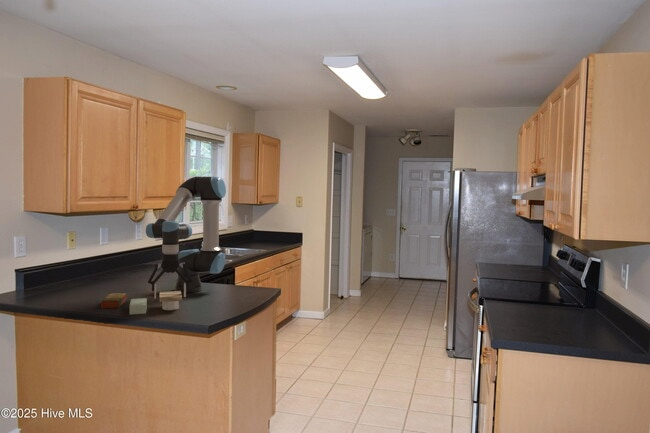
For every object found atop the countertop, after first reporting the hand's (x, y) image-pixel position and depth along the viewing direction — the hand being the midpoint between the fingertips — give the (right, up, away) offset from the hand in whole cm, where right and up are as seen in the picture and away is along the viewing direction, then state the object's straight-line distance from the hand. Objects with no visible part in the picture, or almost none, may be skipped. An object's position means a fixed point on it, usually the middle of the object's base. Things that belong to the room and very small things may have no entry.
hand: (170, 297), depth 238 cm
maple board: (0, 0, 0) cm, 1 cm away
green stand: (-14, -6, -4) cm, 15 cm away
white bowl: (0, -5, +1) cm, 6 cm away
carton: (-30, -5, +8) cm, 32 cm away
